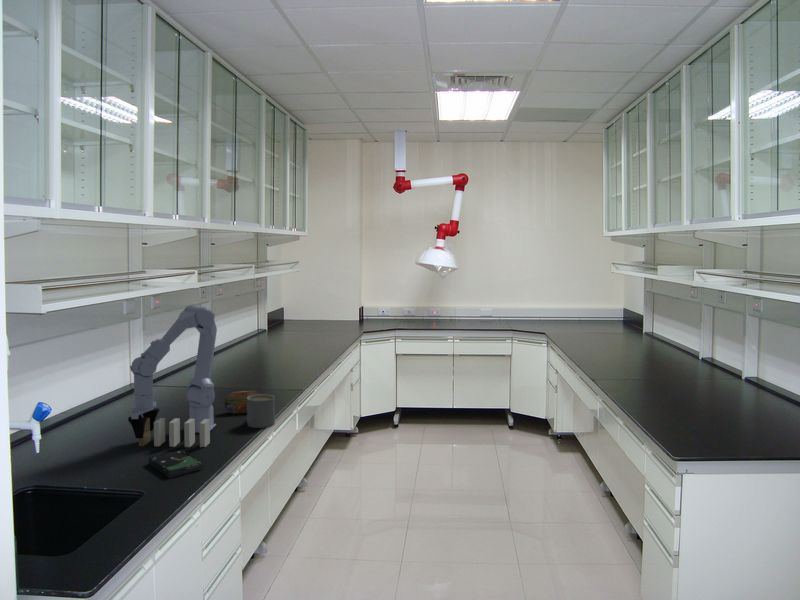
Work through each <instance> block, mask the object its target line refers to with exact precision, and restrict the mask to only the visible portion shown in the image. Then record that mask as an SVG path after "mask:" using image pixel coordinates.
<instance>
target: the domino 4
mask: <svg viewBox="0 0 800 600" xmlns="http://www.w3.org/2000/svg"><path fill="white" fill-rule="evenodd" d="M210 431H211V430H210V419H204V420H203V421H202V422H201V423H200V433H199V448H201V447H205V448H206V447H207V446H208V445H209V444H210V443H211V436H210V435H211V432H210Z"/></svg>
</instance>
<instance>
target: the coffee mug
mask: <svg viewBox="0 0 800 600" xmlns="http://www.w3.org/2000/svg"><path fill="white" fill-rule="evenodd" d="M275 399H276V398H275V396H274V395H273V394H268V393H264V394H263V393H261V394H256V395H251V396H248V397H247V413H246V426H247V427H249V428H252V429H253V428H255V429H264V428H271V427H272V426H274V425H275V420H276V419H275V418H276V416H275V415H276V414H275V413H276V411H275V410H276V409H275V407H276V406H275V405H276V404H275Z"/></svg>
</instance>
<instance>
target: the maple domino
mask: <svg viewBox="0 0 800 600" xmlns="http://www.w3.org/2000/svg"><path fill="white" fill-rule="evenodd" d="M149 442H151V431H150V418H147V421H146V423H145V427H144V436H143V438H138V446H139V447H144V446H146V445H148V443H149Z"/></svg>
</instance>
